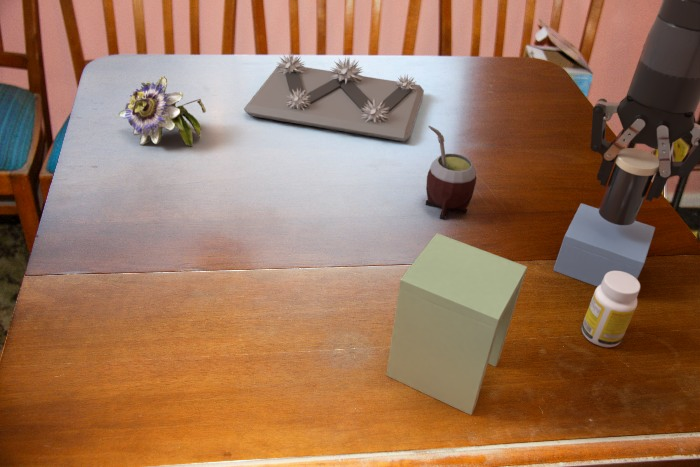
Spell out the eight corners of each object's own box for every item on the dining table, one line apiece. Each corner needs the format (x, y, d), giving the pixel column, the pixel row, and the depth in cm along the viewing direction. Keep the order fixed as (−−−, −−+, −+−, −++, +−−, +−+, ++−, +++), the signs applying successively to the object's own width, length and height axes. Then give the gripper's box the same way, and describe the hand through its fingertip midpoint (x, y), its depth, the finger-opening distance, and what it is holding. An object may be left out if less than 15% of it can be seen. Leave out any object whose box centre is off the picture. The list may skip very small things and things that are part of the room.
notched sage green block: (499, 360, 74) (527, 266, 66) (471, 415, 68) (498, 319, 59) (419, 326, 78) (436, 232, 69) (385, 375, 71) (400, 279, 63)
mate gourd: (472, 201, 100) (491, 112, 91) (464, 229, 94) (483, 137, 85) (425, 190, 102) (439, 102, 93) (413, 217, 96) (428, 126, 87)
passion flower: (149, 171, 111) (100, 114, 105) (185, 134, 117) (140, 79, 112) (189, 156, 103) (137, 94, 98) (224, 117, 110) (178, 57, 105)
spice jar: (639, 211, 85) (662, 155, 80) (633, 231, 82) (657, 173, 76) (600, 199, 87) (621, 143, 82) (593, 218, 83) (614, 160, 78)
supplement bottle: (627, 334, 79) (651, 282, 74) (611, 355, 76) (635, 302, 71) (590, 314, 82) (611, 262, 76) (573, 333, 79) (594, 281, 74)
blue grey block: (640, 261, 91) (655, 227, 87) (628, 298, 84) (644, 263, 81) (569, 237, 94) (580, 202, 91) (552, 270, 88) (564, 235, 84)
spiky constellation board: (242, 119, 116) (240, 81, 112) (278, 72, 133) (278, 38, 129) (408, 146, 112) (413, 108, 108) (423, 95, 129) (428, 60, 125)
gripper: (603, 55, 71) (562, 186, 82) (745, 90, 66) (682, 224, 77) (616, 36, 77) (576, 160, 87) (749, 66, 72) (690, 195, 82)
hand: (626, 190), depth 82 cm, fingers closed on spice jar, 5 cm apart
